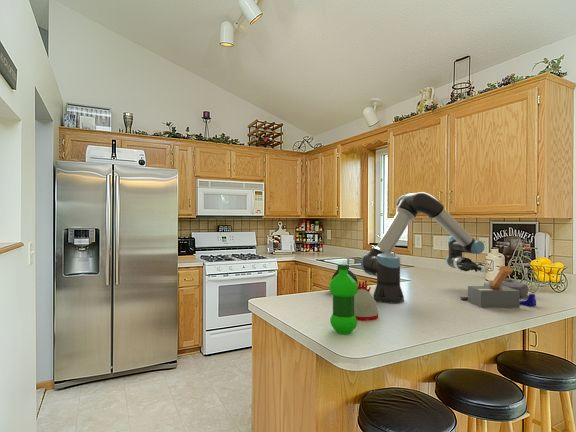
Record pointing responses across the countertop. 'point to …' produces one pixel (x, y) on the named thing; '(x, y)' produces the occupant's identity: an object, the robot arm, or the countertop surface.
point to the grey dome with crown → (364, 304)
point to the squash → (348, 273)
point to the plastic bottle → (343, 301)
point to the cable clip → (529, 301)
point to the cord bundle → (464, 298)
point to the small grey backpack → (516, 287)
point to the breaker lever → (501, 276)
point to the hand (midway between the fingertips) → (486, 269)
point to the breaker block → (493, 296)
